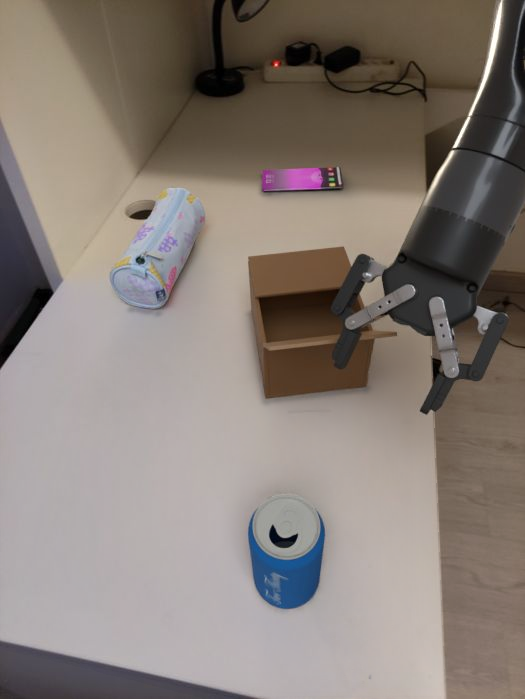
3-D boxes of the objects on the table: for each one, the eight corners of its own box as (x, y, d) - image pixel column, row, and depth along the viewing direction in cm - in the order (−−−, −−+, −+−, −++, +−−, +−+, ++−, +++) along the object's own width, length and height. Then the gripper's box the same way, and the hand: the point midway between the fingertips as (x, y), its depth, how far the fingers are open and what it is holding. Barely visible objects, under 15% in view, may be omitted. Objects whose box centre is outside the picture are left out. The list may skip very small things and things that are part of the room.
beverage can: (243, 596, 52) (234, 547, 43) (267, 535, 56) (264, 478, 47) (307, 622, 50) (311, 576, 41) (327, 557, 54) (335, 503, 45)
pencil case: (168, 318, 78) (156, 267, 71) (113, 310, 80) (96, 259, 73) (210, 234, 92) (204, 184, 85) (163, 228, 93) (153, 179, 86)
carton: (366, 386, 69) (376, 330, 61) (265, 399, 68) (262, 343, 60) (338, 302, 79) (344, 245, 72) (251, 312, 79) (247, 256, 71)
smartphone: (343, 190, 99) (343, 186, 99) (262, 192, 100) (261, 188, 99) (340, 170, 104) (340, 166, 104) (262, 172, 105) (262, 167, 104)
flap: (375, 330, 61) (375, 333, 61) (263, 343, 60) (263, 346, 60) (397, 331, 53) (397, 335, 53) (268, 346, 52) (269, 351, 52)
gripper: (378, 180, 44) (299, 356, 48) (554, 245, 39) (451, 436, 43) (395, 199, 51) (325, 352, 55) (547, 256, 46) (458, 421, 49)
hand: (380, 389), depth 49 cm, fingers open, 8 cm apart
